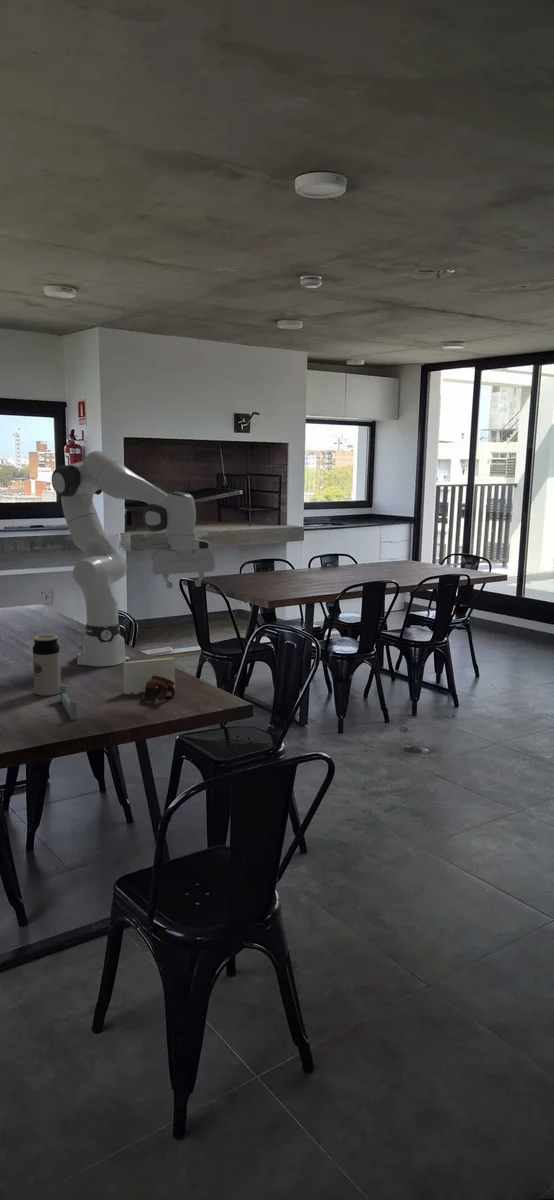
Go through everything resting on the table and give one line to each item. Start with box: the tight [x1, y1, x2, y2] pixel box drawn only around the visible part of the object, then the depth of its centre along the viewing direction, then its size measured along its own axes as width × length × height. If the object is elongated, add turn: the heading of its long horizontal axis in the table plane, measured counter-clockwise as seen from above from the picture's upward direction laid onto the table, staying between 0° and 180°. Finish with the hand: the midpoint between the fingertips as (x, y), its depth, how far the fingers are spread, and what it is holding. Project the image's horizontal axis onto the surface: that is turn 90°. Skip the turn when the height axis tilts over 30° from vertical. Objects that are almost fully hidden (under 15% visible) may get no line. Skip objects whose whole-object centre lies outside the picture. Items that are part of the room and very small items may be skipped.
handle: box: [59, 683, 78, 721], centre depth 235 cm, size 20×2×5 cm, turn 24°
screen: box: [123, 656, 176, 695], centre depth 254 cm, size 4×16×10 cm, turn 113°
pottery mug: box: [142, 676, 176, 703], centre depth 246 cm, size 12×10×8 cm
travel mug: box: [32, 633, 62, 697], centre depth 250 cm, size 8×8×18 cm
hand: (183, 587), depth 256 cm, fingers open, 8 cm apart
